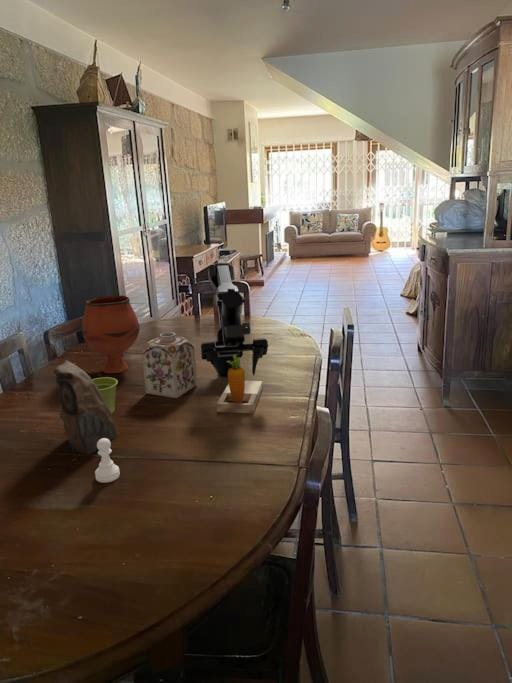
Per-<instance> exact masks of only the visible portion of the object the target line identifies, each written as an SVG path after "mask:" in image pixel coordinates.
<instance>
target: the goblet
mask: <svg viewBox="0 0 512 683" xmlns="http://www.w3.org/2000/svg"><path fill="white" fill-rule="evenodd" d="M85 304H86V305H85V309H84V313H83V317H82V321H81V332H82V333H81V334H82V336H83V339H84V341H85V342H86V343H87V344H88V345H89V346H90V347H91V348H92V349H93V350H95V351H97V352H99V353H101V354H104V355H105V357H106V358H107V359H108V360H107V361H106V363H105V364H104V365H103V368H102V372H103V373H104V374H119V373H123V372H125V371H126V370H128V369H129V366H128V364H127V363H126V362H125V361H124V360H123V359H122V358H123V357H124V353H125V352H126V351H128V350H129V349H130V348H131V347H132V346H133V345H134V343H135V342H136V341H137V338H138V337H139V335H140V334H139V333H140V330H141V327H140V323H139V320H138V317H137V314H136V313H135V311H134V308H133V307H132V305H131V302H130V298H129V297H128V296H127V295H123V294H122V295H115V294H114V295H106V296H99V297H95V298H92V299H88V300H86V301H85Z"/></svg>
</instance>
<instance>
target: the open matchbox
mask: <svg viewBox="0 0 512 683" xmlns="http://www.w3.org/2000/svg"><path fill="white" fill-rule="evenodd" d="M262 392H263V381H262V380H245V389H244V396H243V399H242V402H241V403H235V402H234V400H233V398H232V395H231V392H230V388H229V382H228V383H227V385H226V387H225V389H223V392H222V394H221V396H220V398H219V399H218V401H217V403H216V410H217V413H234V414H235V413H236V414H237V413H238V414H254V413H255V410H256V406H257V404H258V402H259V399H260V396H261V394H262ZM245 402H247V403H245Z"/></svg>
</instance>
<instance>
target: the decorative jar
mask: <svg viewBox="0 0 512 683" xmlns="http://www.w3.org/2000/svg"><path fill="white" fill-rule="evenodd" d="M195 354H196V353H195V345H194V344H193V343H192V342H191V341H190V340H188V339H187V338H186V337H184V336H176V333H175V332H173V331H170V332H169V331H168V332H163V333H160V334H159V337H156V338H153V339H151V340H149V341H148V342H147V344H146V346H145V347H144V349H143V350H142V354H141V355H142V365H143V366H142V367H143V376H144V385H145V394H147V395H154V396H160V397H166V398H171V399H178V398H180V397H181V396H182V395H184V394H187V392H189V391H190V390H192V389H194V388H195V387H197V385H198V384H197V368H196V365H197V364H196V355H195Z"/></svg>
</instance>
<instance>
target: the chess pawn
mask: <svg viewBox="0 0 512 683" xmlns="http://www.w3.org/2000/svg"><path fill="white" fill-rule="evenodd" d="M111 443H112V442H111V441H109V440H108V439H107V438H102V439H100V440H99V441H98V442H97V448H98V449H97V450H98V451H97V455H98V456H100V457H101V459H100V462H99V464H98V468H96V469H95V471H94V474H95V481H97V482H98V483H102V484H103V483H111V482H115V481H116V480H118V478H119V477H120V475H121V473H120V467H119V466H118V465H116V464H115V463H114V460H112V459H111V458H110V454H111V453H112V449H111V446H112V445H111Z"/></svg>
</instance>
